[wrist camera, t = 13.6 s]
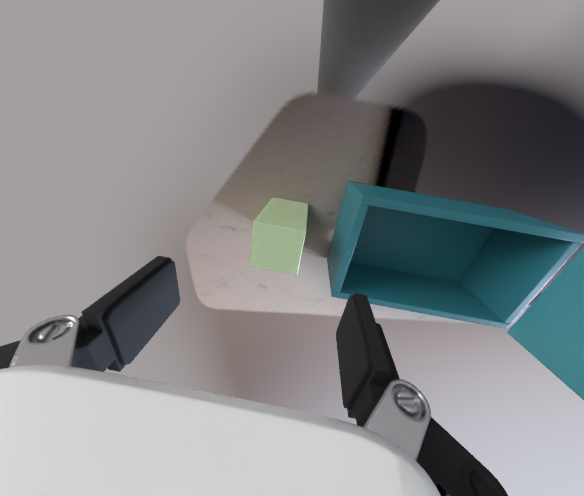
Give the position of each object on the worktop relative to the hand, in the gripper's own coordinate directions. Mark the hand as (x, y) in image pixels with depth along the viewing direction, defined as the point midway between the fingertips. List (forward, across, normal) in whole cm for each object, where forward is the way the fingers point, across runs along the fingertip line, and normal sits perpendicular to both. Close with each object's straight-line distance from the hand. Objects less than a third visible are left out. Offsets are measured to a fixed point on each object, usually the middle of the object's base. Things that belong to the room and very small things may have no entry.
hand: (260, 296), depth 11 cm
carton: (+16, 0, +1) cm, 16 cm away
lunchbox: (+16, -15, +1) cm, 22 cm away
